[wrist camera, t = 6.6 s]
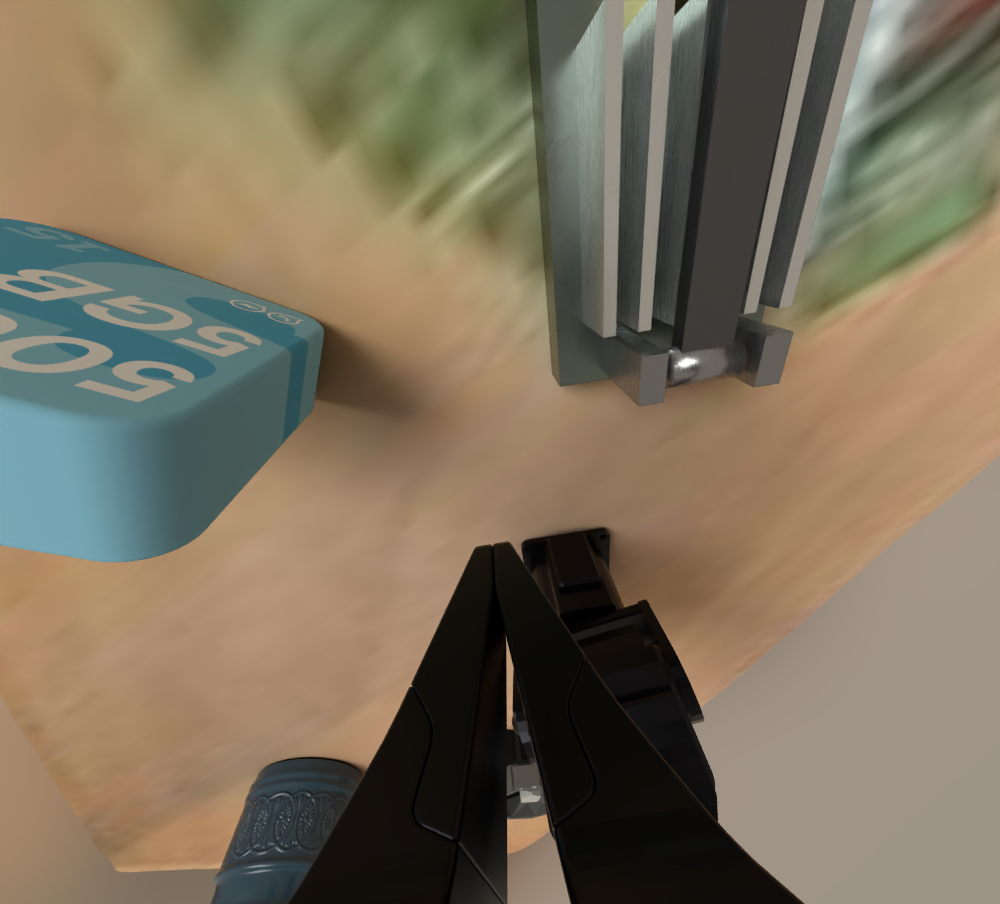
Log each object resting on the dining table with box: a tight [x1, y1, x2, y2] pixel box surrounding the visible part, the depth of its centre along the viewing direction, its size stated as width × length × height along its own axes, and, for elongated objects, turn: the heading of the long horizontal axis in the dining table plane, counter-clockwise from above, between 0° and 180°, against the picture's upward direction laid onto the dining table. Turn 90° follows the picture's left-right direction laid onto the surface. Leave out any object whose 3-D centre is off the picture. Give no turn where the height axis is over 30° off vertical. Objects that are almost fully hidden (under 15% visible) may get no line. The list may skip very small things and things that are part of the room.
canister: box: [210, 759, 362, 904], centre depth 38 cm, size 13×13×18 cm
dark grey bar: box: [662, 0, 806, 388], centre depth 12 cm, size 13×3×2 cm, turn 8°
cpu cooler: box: [507, 730, 547, 819], centre depth 43 cm, size 10×6×10 cm
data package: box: [0, 218, 324, 562], centre depth 12 cm, size 12×4×12 cm, turn 68°
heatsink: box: [526, 0, 873, 406], centre depth 13 cm, size 15×10×6 cm, turn 8°
